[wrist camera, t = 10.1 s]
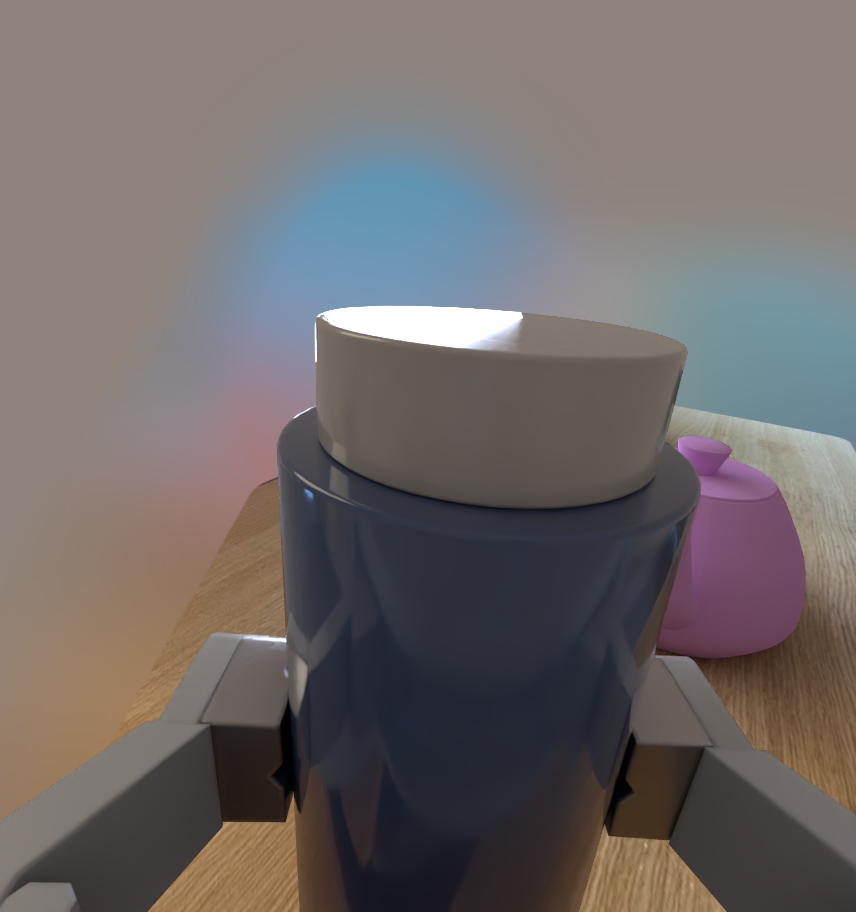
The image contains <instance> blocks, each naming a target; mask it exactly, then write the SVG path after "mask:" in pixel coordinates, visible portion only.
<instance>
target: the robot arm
mask: <svg viewBox="0 0 856 912" xmlns="http://www.w3.org/2000/svg"><path fill="white" fill-rule="evenodd" d="M293 792H294V789H293V769H292V749H291V728H290V708H289V688H288V667H287V647H286V637H278V636H265V635H251V634H246V635H241V634H229V633H216V632H214V633H213V634H211V635H210V636H209V637H208V638H207V639H206V640H205V641H204V643H203V645H202V646H201V648H200V650H199V651H198V653H197V655H196V656H195V658H194V660H193V661H192V663H191V665H190V667H189V668H188V670H187V672H186V673H185V675H184V677H183V678H182V680H181V682H180V683H179V685H178V687H177V688H176V690H175V692H174V693H173V695H172V697H171V698H170V700H169V702H168V704H167V705H166V707H165V709H164V710H163V712H162V714H161V715H160V717H159V719H158V720H157V722H147V721H146V722H144V723H143V724H141V725H140V726H138V727H137V728H135V729H134V730H132V731H131V732H130V733H128V734H127V735H125V736H124V737H122V738H121V739H119V740H118V741H116V742H115V743H113V744H112V745H111V746H109V747H108V748H106V749H105V750H103V751H102V752H100V753H99V754H97V755H96V756H94V757H93V758H92V759H90V760H89V761H87V762H86V763H84V764H83V765H81V766H80V767H78V768H77V769H75V770H74V771H73V772H71V773H70V774H68V775H67V776H65V777H64V778H62V779H61V780H59V781H58V782H56V783H55V784H53V785H52V786H51V787H49V788H48V789H46V790H45V791H43V792H42V793H40V794H39V795H37V796H36V797H34V798H33V799H32V800H30V801H29V802H27V803H26V804H24V805H23V806H21V807H20V808H18V809H17V810H15V811H14V812H13V813H11V814H10V815H8V816H7V817H5V818H4V819H2V820H1V821H0V912H148V910H149V909H150V908H151V907H152V906H153V905H154V904H155V902H156V901H157V900H158V899H159V898H160V897H161V896H162V895H163V893H164V892H165V891H166V890H167V889H168V888H169V887H170V885H171V884H172V883H173V882H174V881H175V880H176V879H177V878H178V876H179V875H180V874H181V873H182V872H183V871H184V870H185V868H186V867H187V866H188V865H189V864H190V863H191V862H192V861H193V859H194V858H195V857H196V856H197V855H198V854H199V853H200V851H201V850H202V849H203V848H204V847H205V846H206V845H207V844H208V842H209V841H210V840H211V839H212V838H213V837H214V836H215V834H216V833H217V832H218V831H219V830H220V829H221V828H222V826H223V823H222V822H286V819H287V815H288V811H289V807H290V803H291V800H292V796H293ZM605 826H606V829H607V832H608V835H609V836H616V837H630V838H644V839H657V840H670V842H669V845H670V846H671V847H672V848H673V849H674V850H675V852H676V853H677V854H678V855H679V856H680V857H681V859H682V860H683V861H684V862H685V863H686V864H687V866H688V867H689V868H690V869H691V870H692V871H693V873H694V874H695V875H696V876H697V877H698V878H699V880H700V881H701V882H702V883H703V884H704V885H705V887H706V888H707V889H708V890H709V891H710V892H711V894H712V895H713V896H714V897H715V898H716V899H717V901H718V902H719V903H720V904H721V905H722V906H723V908H724V909H725V910H726V911H727V912H856V815H855V814H854V813H852V812H851V811H849V810H848V809H847V808H845V807H844V806H842V805H841V804H840V803H838V802H837V801H835V800H834V799H833V798H831V797H830V796H828V795H827V794H826V793H824V792H823V791H821V790H820V789H819V788H817V787H816V786H814V785H813V784H812V783H810V782H809V781H808V780H806V779H805V778H803V777H802V776H801V775H799V774H798V773H796V772H795V771H794V770H792V769H791V768H789V767H788V766H787V765H785V764H784V763H782V762H781V761H780V760H778V759H777V758H775V757H774V756H773V755H771V754H770V753H768V752H767V751H766V750H755V749H754V748H753V746H752V745H751V743H750V742H749V741H748V739H747V738H746V736H745V735H744V733H743V732H742V730H741V729H740V727H739V726H738V724H737V723H736V721H735V720H734V718H733V717H732V715H731V714H730V713H729V711H728V710H727V708H726V707H725V705H724V704H723V702H722V701H721V699H720V698H719V696H718V695H717V693H716V692H715V690H714V689H713V688H712V686H711V685H710V683H709V682H708V680H707V679H706V677H705V676H704V674H703V673H702V671H701V670H700V668H699V667H698V665H697V664H696V663H695V662H694V661H693V660H692V659H690V658H689V657H688V656H658V655H656V656H654V658H653V661H652V665H651V668H650V672H649V675H648V678H647V682H646V685H645V689H644V692H643V695H642V699H641V702H640V705H639V709H638V712H637V716H636V719H635V722H634V726H633V729H632V733H631V736H630V739H629V743H628V746H627V750H626V753H625V756H624V760H623V763H622V767H621V770H620V773H619V777H618V780H617V784H616V787H615V790H614V794H613V797H612V801H611V804H610V807H609V811H608V814H607V818H606V821H605Z"/></svg>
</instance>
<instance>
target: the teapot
mask: <svg viewBox="0 0 856 912" xmlns="http://www.w3.org/2000/svg"><path fill="white" fill-rule="evenodd" d="M674 448H675V449H677V450H678V451H679V452H681V453H682V454H683V455H684V456H685V457H686V458H687V459H688V460H689V461H690V462H691V464H692V465H693V466H694V468H695V469H696V471H697V473H698V476H699V479H700V483H701V498H700V502H699V505H698V508H697V512H696V515H695V519H694V522H693V525H692V529H691V532H690V536H689V539H688V542H687V546H686V549H685V553H684V556H683V559H682V563H681V566H680V570H679V573H678V576H677V580H676V583H675V587H674V590H673V593H672V597H671V600H670V604H669V607H668V610H667V614H666V617H665V621H664V624H663V627H662V631H661V634H660V638H659V641H658V644H657V648H659V649H662V650H666V651H669V652H672V653H676V654H681V655H685V656H691V657H698V658H713V659H717V658H729V657H735V656H741V655H746V654H751V653H755V652H758V651H762V650H765V649H768V648H770V647H773V646H775V645H777V644H779V643H780V642H782V641H783V640H785V639H786V638H787V637H788V636H789V635H790V634H791V633H792V632H793V631H794V630H795V629H796V626H797V624H798V622H799V619H800V616H801V613H802V610H803V604H804V597H805V574H806V572H805V564H804V556H803V552H802V549H801V545H800V541H799V538H798V534H797V531H796V529H795V526H794V523H793V520H792V517H791V515H790V512H789V510H788V507H787V504H786V502H785V500H784V498H783V496H782V494H781V492H780V490H779V488H778V487H777V485H776V484H775V483H774V482H773V481H772V480H771V479H770V478H769V477H768V476H767V475H765V474H764V473H762V472H760V471H758V470H757V469H755V468H753V467H750V466H748V465H746V464H743V463H741V462H738V461H735V460H732V459H729V458H728V457H729V455H730V453H731V452H732V449H731V448H730V447H729V446H727V445H726V444H724V443H722V442H719V441H716V440H713V439H709V438H704V437H696V436H689V437H682V438H679V439H678V447H674Z"/></svg>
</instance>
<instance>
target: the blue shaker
mask: <svg viewBox="0 0 856 912" xmlns="http://www.w3.org/2000/svg"><path fill="white" fill-rule="evenodd" d="M315 349H316V404H317V405H316V406H315V407H313V408H310V409H308V410H306V411H304V412H302V413H301V414H299V415H297V416H296V417H295V418H294V419H292V420H291V421H290V422H288V424H287V425H286V426H285V427H284V429H283V430H282V432H281V435H280V437H279V439H278V442H277V464H278V484H279V505H280V525H281V545H282V566H283V586H284V606H285V627H286V647H287V667H288V688H289V708H290V728H291V749H292V769H293V789H294V810H295V830H296V850H297V871H298V891H299V911H300V912H579V909H580V906H581V903H582V899H583V896H584V892H585V889H586V886H587V882H588V879H589V875H590V872H591V869H592V865H593V862H594V858H595V855H596V852H597V848H598V845H599V841H600V838H601V835H602V831H603V828H604V824H605V821H606V818H607V814H608V811H609V807H610V804H611V801H612V797H613V794H614V790H615V787H616V784H617V780H618V777H619V773H620V770H621V767H622V763H623V760H624V756H625V753H626V750H627V746H628V743H629V739H630V736H631V733H632V729H633V726H634V722H635V719H636V716H637V712H638V709H639V705H640V702H641V699H642V695H643V692H644V689H645V685H646V682H647V678H648V675H649V672H650V668H651V665H652V661H653V658H654V655H655V651H656V648H657V644H658V641H659V638H660V634H661V631H662V627H663V624H664V621H665V617H666V614H667V610H668V607H669V604H670V600H671V597H672V593H673V590H674V587H675V583H676V580H677V576H678V573H679V570H680V566H681V563H682V559H683V556H684V553H685V549H686V546H687V542H688V539H689V536H690V532H691V529H692V525H693V522H694V519H695V515H696V512H697V508H698V505H699V502H700V498H701V483H700V479H699V476H698V473H697V471H696V469H695V468H694V466H693V465H692V464H691V462H690V461H689V460H688V459H687V458H686V457H685V456H684V455H683V454H682V453H681V452H679V451H678V450H677V449H675V448H674V447H672V446H671V445H670V444H668V443H667V442H665V440H666V436H667V432H668V428H669V424H670V421H671V417H672V413H673V409H674V405H675V401H676V397H677V392H678V389H679V385H680V381H681V377H682V373H683V369H684V365H685V361H686V357H687V353H688V352H687V348H686V347H685V345H683V344H682V343H680V342H678V341H676V340H674V339H671V338H669V337H666V336H663V335H659V334H656V333H652V332H648V331H644V330H638V329H634V328H629V327H624V326H618V325H612V324H606V323H600V322H593V321H587V320H579V319H572V318H564V317H556V316H547V315H537V314H527V313H517V312H505V311H493V310H479V309H463V308H462V309H461V308H443V307H411V306H383V307H382V306H381V307H357V308H346V309H338V310H333V311H329V312H325V313H323V314H321V315H319V316H318V317H317V319H316V322H315Z"/></svg>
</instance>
